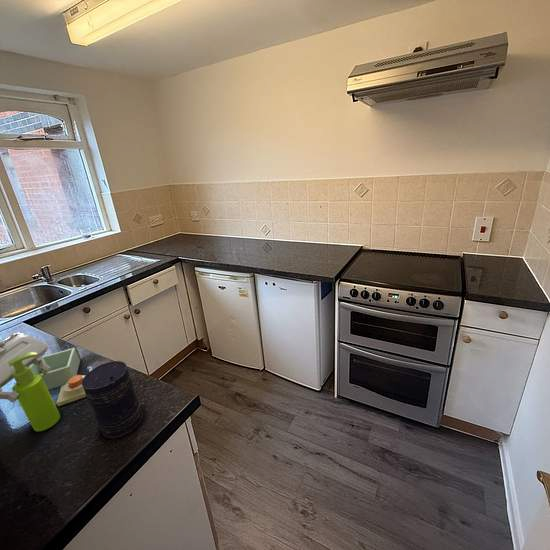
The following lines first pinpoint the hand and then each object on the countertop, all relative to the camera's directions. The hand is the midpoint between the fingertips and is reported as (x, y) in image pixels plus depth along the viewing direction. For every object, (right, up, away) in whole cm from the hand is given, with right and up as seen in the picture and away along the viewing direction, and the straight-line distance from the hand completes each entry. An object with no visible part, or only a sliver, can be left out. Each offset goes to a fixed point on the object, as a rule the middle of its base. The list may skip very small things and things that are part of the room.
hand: (33, 384), depth 75 cm
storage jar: (+22, -10, +1) cm, 24 cm away
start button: (+2, -5, +13) cm, 14 cm away
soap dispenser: (+1, -11, +4) cm, 12 cm away
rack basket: (-10, -6, +22) cm, 24 cm away
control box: (+2, -7, +14) cm, 16 cm away
